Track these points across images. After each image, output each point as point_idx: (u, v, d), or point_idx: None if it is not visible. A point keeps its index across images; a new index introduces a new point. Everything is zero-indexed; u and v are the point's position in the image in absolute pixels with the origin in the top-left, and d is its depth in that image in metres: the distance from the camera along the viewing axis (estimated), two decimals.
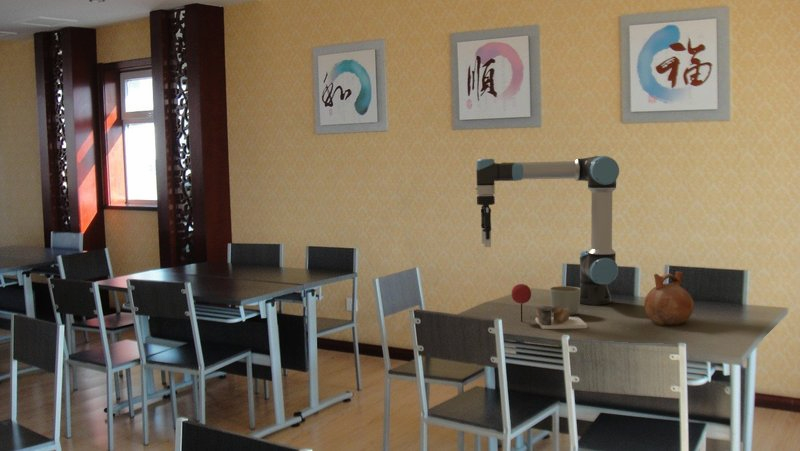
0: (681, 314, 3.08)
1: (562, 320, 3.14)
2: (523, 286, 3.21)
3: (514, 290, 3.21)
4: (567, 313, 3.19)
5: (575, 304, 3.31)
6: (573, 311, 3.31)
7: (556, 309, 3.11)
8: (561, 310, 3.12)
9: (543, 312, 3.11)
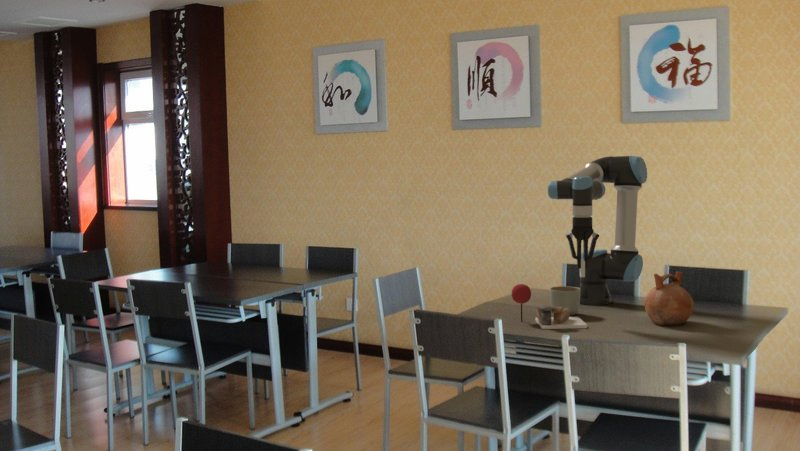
0: (681, 314, 3.08)
1: (562, 320, 3.14)
2: (523, 286, 3.21)
3: (514, 290, 3.21)
4: (567, 313, 3.19)
5: (575, 304, 3.31)
6: (573, 311, 3.31)
7: (556, 309, 3.11)
8: (561, 310, 3.12)
9: (543, 312, 3.11)
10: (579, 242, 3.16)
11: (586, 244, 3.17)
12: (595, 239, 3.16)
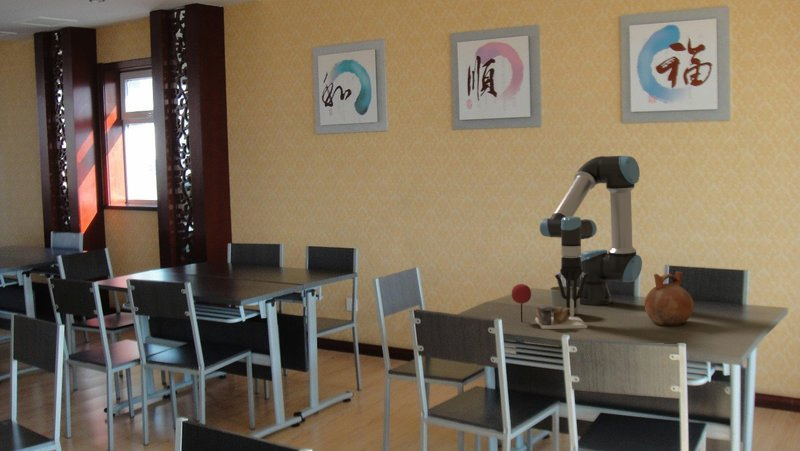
0: (681, 314, 3.08)
1: (562, 320, 3.14)
2: (523, 286, 3.21)
3: (514, 290, 3.21)
4: (567, 313, 3.19)
5: None
6: None
7: (556, 309, 3.11)
8: (561, 310, 3.12)
9: (543, 312, 3.11)
10: (568, 282, 3.18)
11: (575, 284, 3.18)
12: (584, 279, 3.18)
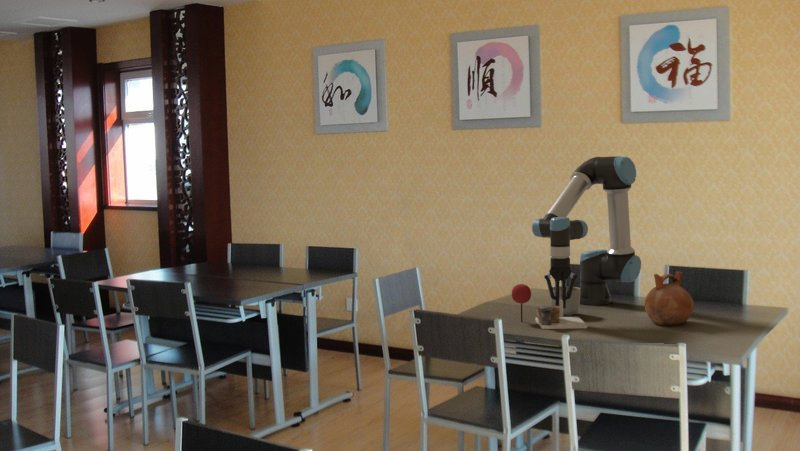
0: (681, 314, 3.08)
1: None
2: (523, 286, 3.21)
3: (514, 290, 3.21)
4: None
5: (575, 304, 3.31)
6: (573, 311, 3.31)
7: (556, 308, 3.12)
8: None
9: (543, 312, 3.11)
10: (557, 283, 3.18)
11: (564, 284, 3.18)
12: (573, 279, 3.18)
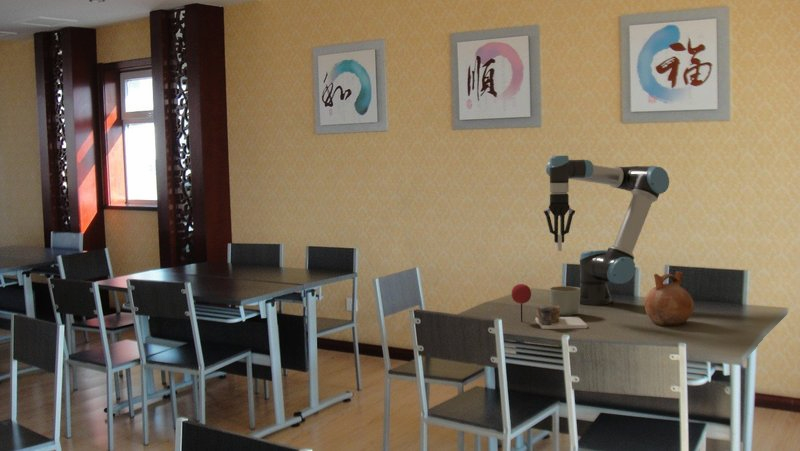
0: (681, 314, 3.08)
1: None
2: (523, 286, 3.21)
3: (514, 290, 3.21)
4: None
5: (575, 304, 3.31)
6: (573, 311, 3.31)
7: (556, 308, 3.12)
8: None
9: (543, 312, 3.11)
10: (556, 217, 3.33)
11: (563, 219, 3.34)
12: (571, 215, 3.34)
